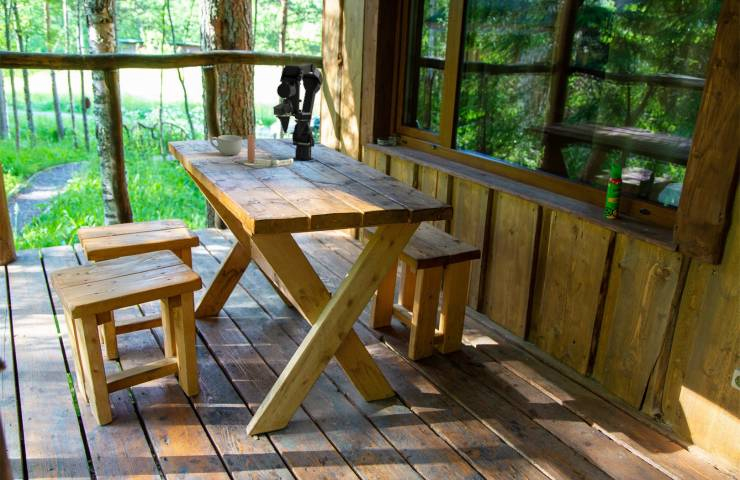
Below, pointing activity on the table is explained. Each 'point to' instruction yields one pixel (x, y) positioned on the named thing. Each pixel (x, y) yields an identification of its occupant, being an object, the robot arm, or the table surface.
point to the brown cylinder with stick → (252, 152)
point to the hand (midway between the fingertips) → (291, 134)
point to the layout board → (259, 165)
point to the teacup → (228, 144)
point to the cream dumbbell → (283, 162)
